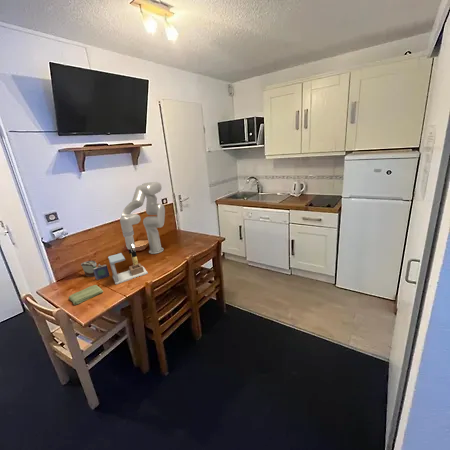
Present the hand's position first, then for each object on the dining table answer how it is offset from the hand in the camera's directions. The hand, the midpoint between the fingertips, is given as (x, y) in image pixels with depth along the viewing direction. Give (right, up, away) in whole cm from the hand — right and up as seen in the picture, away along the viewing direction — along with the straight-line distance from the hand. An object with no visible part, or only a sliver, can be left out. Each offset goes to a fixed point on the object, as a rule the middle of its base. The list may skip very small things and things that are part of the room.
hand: (133, 254), depth 188 cm
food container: (-30, -15, +1) cm, 33 cm away
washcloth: (-19, -23, -28) cm, 41 cm away
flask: (-19, -16, -7) cm, 26 cm away
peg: (+1, -10, +4) cm, 11 cm away
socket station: (+1, -14, -8) cm, 16 cm away
